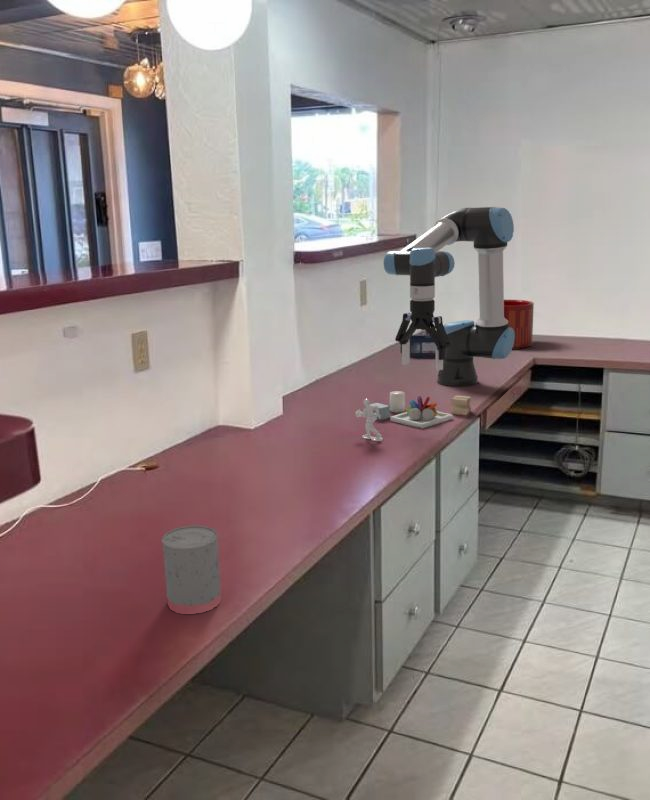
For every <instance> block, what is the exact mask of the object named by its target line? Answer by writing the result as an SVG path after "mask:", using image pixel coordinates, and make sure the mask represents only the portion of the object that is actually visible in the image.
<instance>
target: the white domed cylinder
mask: <svg viewBox="0 0 650 800" xmlns="http://www.w3.org/2000/svg"><path fill="white" fill-rule="evenodd" d="M389 406H390V412H391V413H398V414H399V413H405V412H406V392H405V391H399V390H396V391H395V390H394V391H390V392H389Z"/></svg>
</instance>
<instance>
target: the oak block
mask: <svg viewBox="0 0 650 800" xmlns="http://www.w3.org/2000/svg"><path fill="white" fill-rule="evenodd" d="M471 402H472V397H471V396H468V395H467V396H466V395H465V396H464V395H455V396H453V397H452V398H451V400H450V409H451V410H450V414H452V415H460V414H462V415H461V416H467V415H468V414H470V413H471V412H472V411H471V409H472V408H471V406H472V403H471Z"/></svg>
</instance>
